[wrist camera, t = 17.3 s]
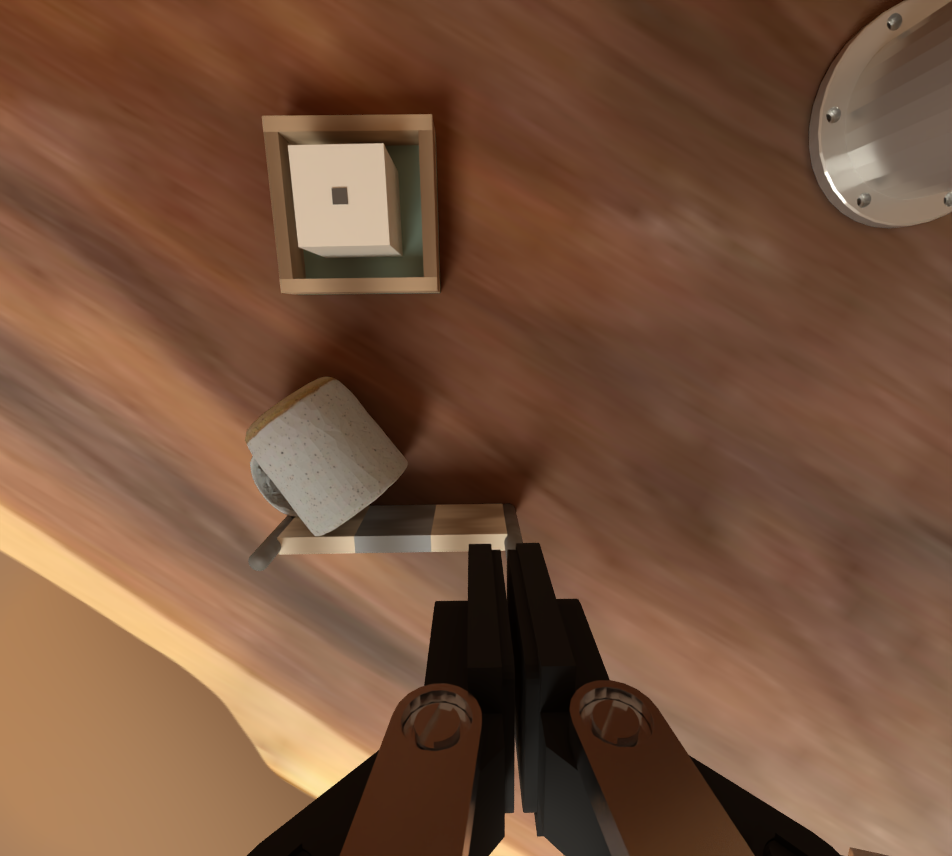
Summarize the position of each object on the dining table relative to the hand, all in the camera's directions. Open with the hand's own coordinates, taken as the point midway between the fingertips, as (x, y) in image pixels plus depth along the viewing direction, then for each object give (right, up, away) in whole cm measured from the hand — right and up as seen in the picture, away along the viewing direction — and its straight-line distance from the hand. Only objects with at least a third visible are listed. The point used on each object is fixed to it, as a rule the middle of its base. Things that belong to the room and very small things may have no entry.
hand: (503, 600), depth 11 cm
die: (-8, +18, +19) cm, 27 cm away
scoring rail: (-6, -2, +24) cm, 25 cm away
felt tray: (-8, +18, +19) cm, 27 cm away
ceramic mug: (-11, +2, +23) cm, 26 cm away
